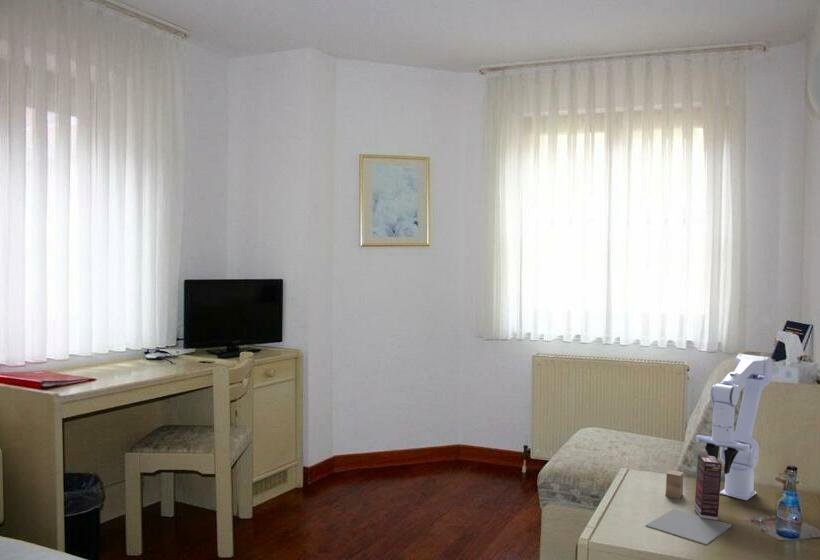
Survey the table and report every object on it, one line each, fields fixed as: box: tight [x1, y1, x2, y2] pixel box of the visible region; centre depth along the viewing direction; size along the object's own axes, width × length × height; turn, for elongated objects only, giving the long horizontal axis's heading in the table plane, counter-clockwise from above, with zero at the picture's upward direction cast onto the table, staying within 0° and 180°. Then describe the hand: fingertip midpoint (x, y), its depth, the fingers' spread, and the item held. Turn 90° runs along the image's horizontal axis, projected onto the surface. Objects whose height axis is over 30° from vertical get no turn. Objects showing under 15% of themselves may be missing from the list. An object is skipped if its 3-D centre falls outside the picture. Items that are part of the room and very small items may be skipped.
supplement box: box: [694, 454, 723, 521], centre depth 192 cm, size 9×5×16 cm, turn 169°
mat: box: [645, 508, 733, 546], centre depth 184 cm, size 18×16×1 cm
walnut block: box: [665, 469, 684, 500], centre depth 208 cm, size 4×4×7 cm
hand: (720, 471), depth 199 cm, fingers open, 3 cm apart
